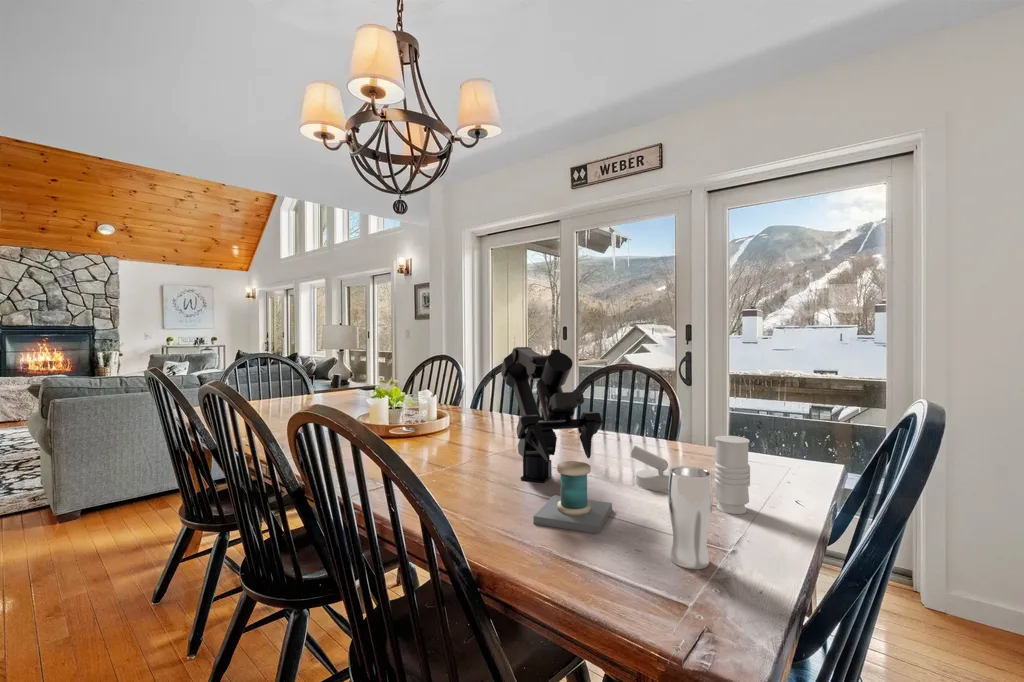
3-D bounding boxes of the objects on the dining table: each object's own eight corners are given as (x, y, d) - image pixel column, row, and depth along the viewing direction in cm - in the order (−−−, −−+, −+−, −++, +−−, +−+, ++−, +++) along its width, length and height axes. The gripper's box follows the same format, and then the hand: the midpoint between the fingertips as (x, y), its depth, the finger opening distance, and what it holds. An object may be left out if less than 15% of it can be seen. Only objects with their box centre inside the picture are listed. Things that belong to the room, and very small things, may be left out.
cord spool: (550, 509, 101) (550, 465, 100) (571, 500, 106) (571, 459, 105) (576, 518, 96) (576, 473, 96) (597, 509, 101) (597, 465, 100)
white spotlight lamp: (629, 441, 126) (670, 443, 124) (629, 478, 126) (670, 480, 124) (631, 449, 117) (674, 451, 115) (630, 489, 118) (674, 491, 116)
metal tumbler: (661, 552, 85) (661, 466, 84) (699, 550, 85) (700, 465, 85) (678, 572, 78) (678, 478, 77) (720, 570, 78) (721, 477, 78)
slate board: (533, 523, 97) (533, 515, 97) (553, 501, 109) (553, 495, 109) (598, 534, 92) (598, 526, 92) (612, 510, 104) (612, 503, 104)
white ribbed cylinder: (754, 515, 101) (754, 443, 100) (718, 513, 102) (718, 442, 101) (744, 503, 107) (745, 436, 107) (711, 501, 109) (711, 434, 108)
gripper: (519, 378, 105) (534, 441, 95) (599, 376, 110) (622, 435, 100) (511, 408, 113) (523, 469, 103) (586, 405, 118) (605, 463, 108)
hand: (569, 459), depth 103 cm, fingers open, 9 cm apart
